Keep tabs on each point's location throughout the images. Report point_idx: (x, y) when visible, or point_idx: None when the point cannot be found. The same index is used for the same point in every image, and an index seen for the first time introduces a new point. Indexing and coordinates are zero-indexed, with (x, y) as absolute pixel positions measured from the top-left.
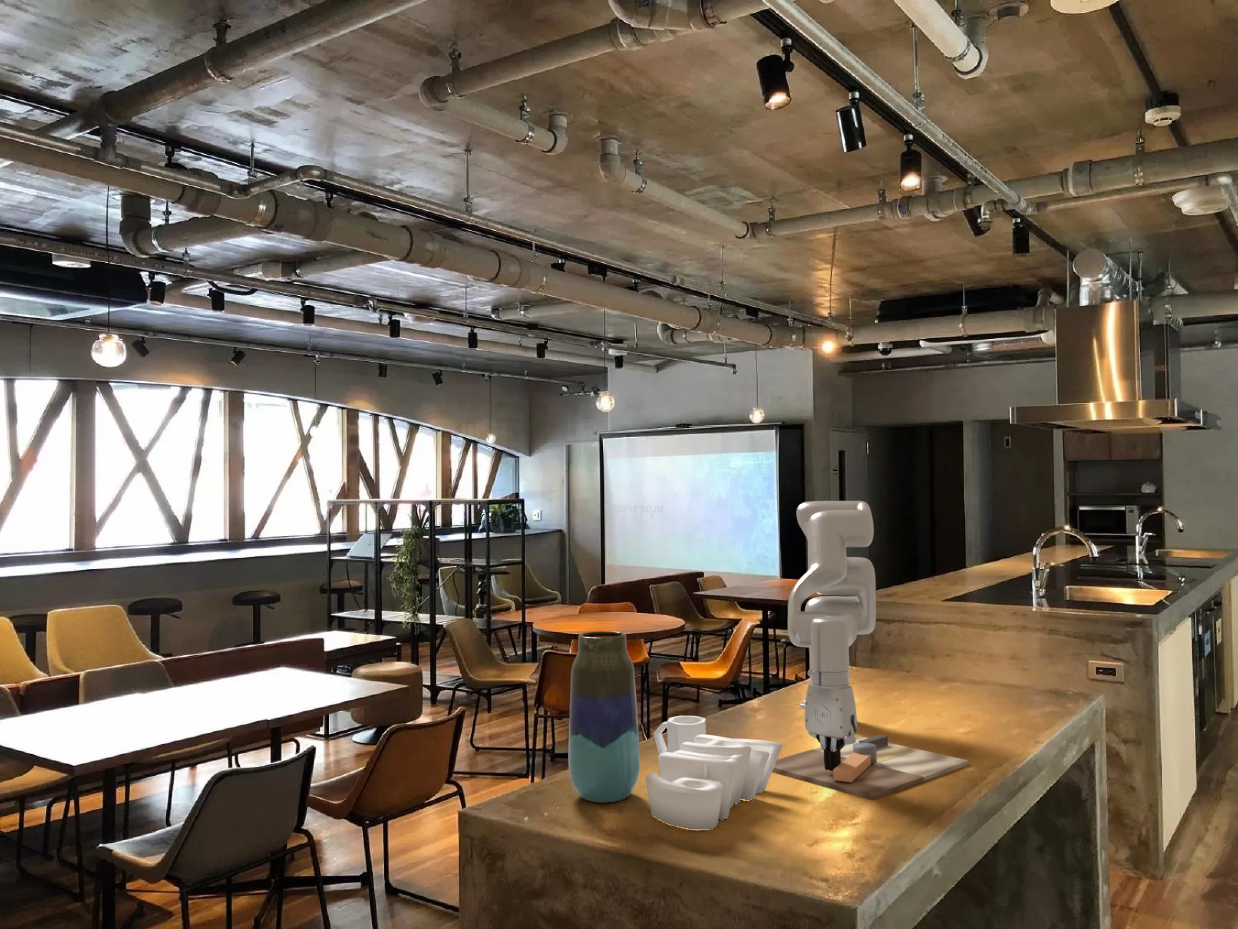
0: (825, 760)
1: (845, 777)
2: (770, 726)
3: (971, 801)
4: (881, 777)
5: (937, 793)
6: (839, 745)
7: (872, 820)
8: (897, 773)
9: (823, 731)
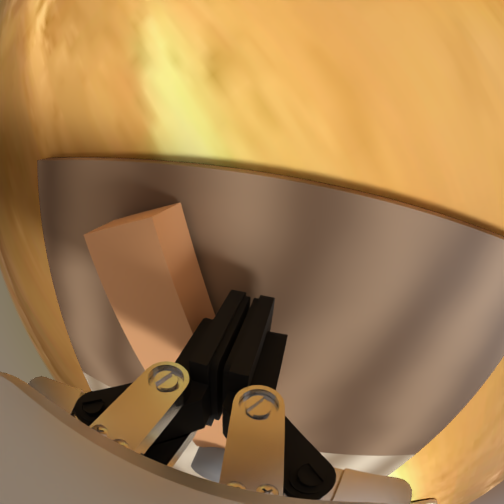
0: (256, 325)
1: (120, 220)
2: (487, 470)
3: (7, 285)
4: (115, 339)
5: (36, 303)
6: (116, 393)
7: (22, 46)
8: (121, 381)
9: (123, 500)
